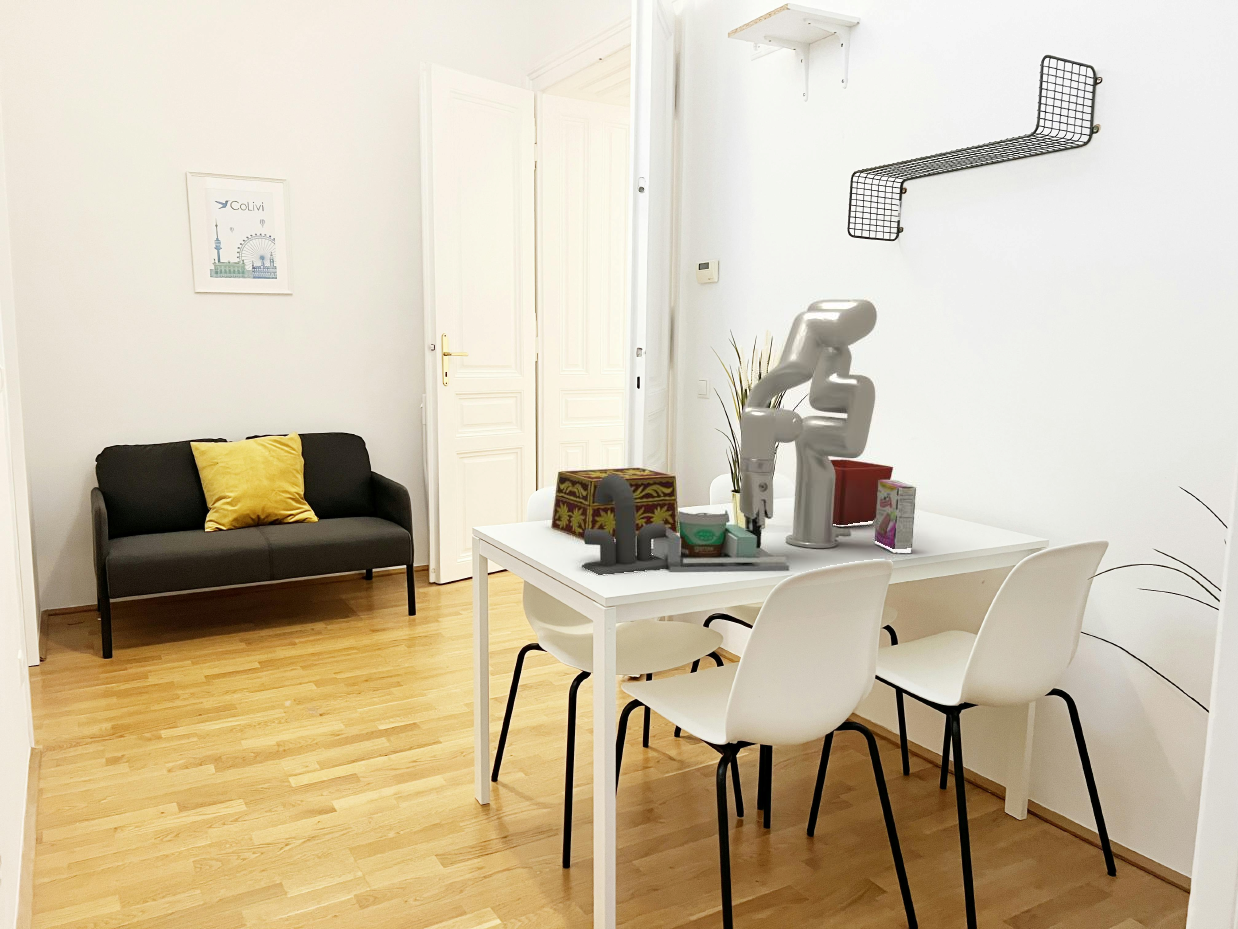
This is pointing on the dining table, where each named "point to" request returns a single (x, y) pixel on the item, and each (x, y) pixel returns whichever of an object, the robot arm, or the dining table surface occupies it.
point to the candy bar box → (895, 514)
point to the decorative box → (583, 513)
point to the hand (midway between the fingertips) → (752, 547)
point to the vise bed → (676, 562)
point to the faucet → (623, 533)
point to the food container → (702, 534)
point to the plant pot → (857, 490)
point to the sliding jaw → (739, 542)
